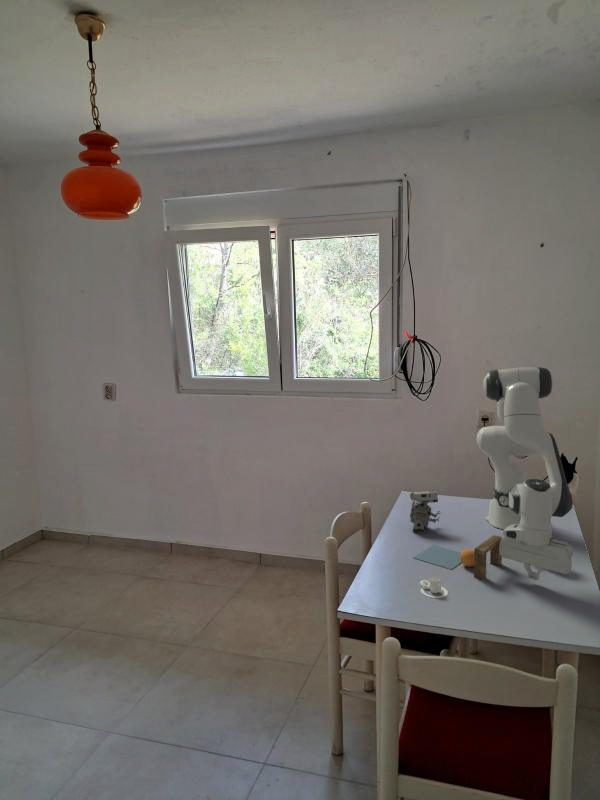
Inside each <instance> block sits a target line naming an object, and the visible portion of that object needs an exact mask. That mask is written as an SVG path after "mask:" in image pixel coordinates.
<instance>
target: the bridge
mask: <svg viewBox="0 0 600 800" xmlns="http://www.w3.org/2000/svg"><path fill="white" fill-rule="evenodd" d="M502 537H503V536H499V535H495V534H493V535H491V536H490V537H488V538H487V539H486V540H484V541H483V542H481V543H480V544H479V545H478V546H476V547H474V550H473V551H474V566H473V578H476V579H479V580H483V581H484V580H485V579H486V578H487V553H488V552H489V553H490V554H489V555H490V557H489V558H490V559H489V564H491V565H494V566H497V567H499V566H501V565H502V564H503V563H502V562H503V561H502V559H503V557H501V555H500V554H499V547H500V541H501V539H502Z"/></svg>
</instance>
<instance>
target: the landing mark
mask: <svg viewBox="0 0 600 800" xmlns="http://www.w3.org/2000/svg"><path fill="white" fill-rule="evenodd" d="M461 552H462V551H461ZM461 552H460V551H457V550H453V549H450V548H447V547H442V546H440V545H435V544H432V545H431V546H429V547H427V548H426V549H424V550H423V551H421V552H420V553H417V554H416V555H415V556H413V559H414V560H418V561H422V562H424V563H428V564H431V565H435V566H437V565H438V566H437V567H440V568H445V569H447V570H450V571H451V570H452V571H453V570H454V569H455V568H456V567H457V566H459V565H461V564H463V563H462V562H461V560H460V554H461Z"/></svg>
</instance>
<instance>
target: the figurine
mask: <svg viewBox="0 0 600 800" xmlns="http://www.w3.org/2000/svg"><path fill="white" fill-rule="evenodd" d="M438 496H439V495H438V494H437V491H436V490H427V491H426V490H425V491H414V492H411V493H410V494H409V498H410V500H411V501H412V503H411V504H412V505H411V508H410V509H411V510H410V514H409V515H410V516H409V518H410V519H409V520H410V521H409V522H411V523H412V524H413V528H412V532H413V533H417V532H418V533H420V534H424V533H425V527H428V526H429V522H432V523H434V524H435V523H436V522H440V520H439V519H440V517H438V518H437V516H438V515H440V513H441V511H440V510H438V511H437V513H433V512H432V506H431V505H428V504H431V503H438V502H439V499H438ZM431 516H432V517H433V518H432V517H431Z"/></svg>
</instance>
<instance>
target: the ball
mask: <svg viewBox="0 0 600 800" xmlns="http://www.w3.org/2000/svg"><path fill="white" fill-rule="evenodd" d="M474 551H475V550H473V549H470V548H466V549H464V550H462V551H461V554H460V560H461V562H462V563H461V564H462V565H463V566H465V567H467V568H469V567H474Z"/></svg>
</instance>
